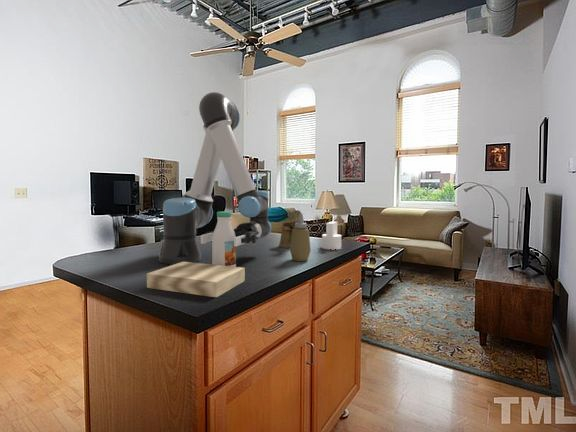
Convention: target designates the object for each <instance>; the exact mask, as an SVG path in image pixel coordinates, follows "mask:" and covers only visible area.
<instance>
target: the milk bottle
mask: <svg viewBox="0 0 576 432" xmlns="http://www.w3.org/2000/svg"><path fill="white" fill-rule="evenodd" d="M216 217H217V218H216V219H217V222H216V225H215V228H214V230H213V231H214V233H213V238H212V242H211V253H212V254H211V255H212V256H211V260H212V261H211V264H212V265H222V266H231V267H237V246H234V238H235V237H236V236H235V232H234V227H233V226H232V222H231V219H232V211H217V212H216Z"/></svg>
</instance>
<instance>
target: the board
mask: <svg viewBox="0 0 576 432" xmlns="http://www.w3.org/2000/svg"><path fill="white" fill-rule="evenodd" d="M245 269H246V268H245V267H241V266H236V267H231V266H222V265H212V263H211V264H210V263H200V262H193V263H192V262H180V263H177V264H170V265H169V266H165V267H162V268H160V269H156V270H153V271H150V272H148V273H146V288H148V289H154V290H160V291H161V290H162V291H167V292H168V291H169V292H175V293H184V294H188V295H189V294H190V295H197V296H203V297H212V298H218V297H220V296H221V295H224V294H225V293H226V292H227V293H228V291H230V290H231V289H234V288H235V287H237V286H239V285H240V284H242V283H243V282H246V281H245V280H246V279H245V278H246V276H245V275H246V272H245V271H246V270H245Z"/></svg>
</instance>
